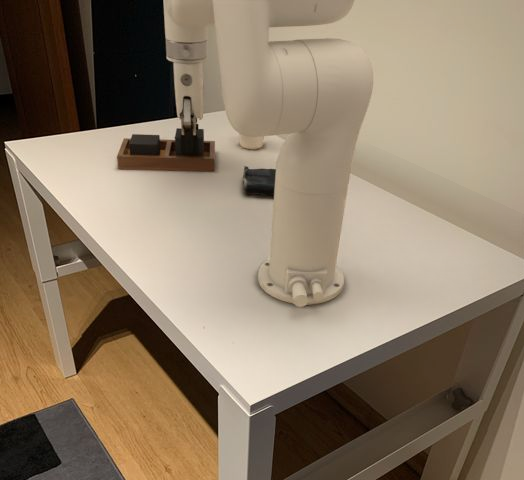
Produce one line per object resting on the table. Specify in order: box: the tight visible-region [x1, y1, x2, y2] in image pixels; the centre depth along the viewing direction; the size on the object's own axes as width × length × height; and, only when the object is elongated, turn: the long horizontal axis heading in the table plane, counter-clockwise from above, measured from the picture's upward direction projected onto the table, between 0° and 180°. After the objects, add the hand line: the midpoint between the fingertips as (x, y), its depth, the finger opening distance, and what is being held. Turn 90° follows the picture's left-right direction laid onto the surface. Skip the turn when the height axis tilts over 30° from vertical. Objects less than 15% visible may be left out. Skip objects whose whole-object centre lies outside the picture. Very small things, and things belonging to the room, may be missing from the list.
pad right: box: [174, 127, 205, 156], centre depth 112 cm, size 6×6×4 cm
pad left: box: [129, 133, 161, 156], centre depth 112 cm, size 6×6×4 cm
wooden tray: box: [116, 137, 216, 172], centre depth 114 cm, size 10×19×3 cm, turn 93°
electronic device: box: [242, 165, 276, 196], centre depth 105 cm, size 9×6×15 cm
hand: (190, 148), depth 113 cm, fingers closed on pad right, 5 cm apart
